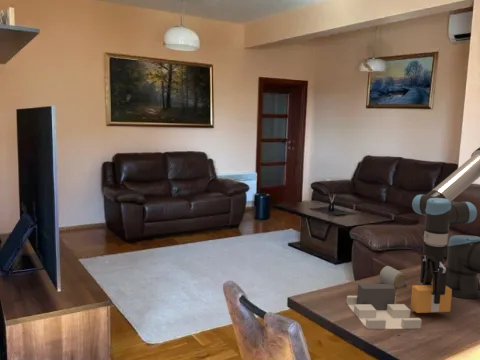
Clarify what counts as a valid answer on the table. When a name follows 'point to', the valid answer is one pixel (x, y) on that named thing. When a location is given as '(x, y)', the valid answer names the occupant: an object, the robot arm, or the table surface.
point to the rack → (384, 316)
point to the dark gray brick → (376, 295)
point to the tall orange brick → (429, 299)
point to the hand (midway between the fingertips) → (430, 308)
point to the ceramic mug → (392, 277)
